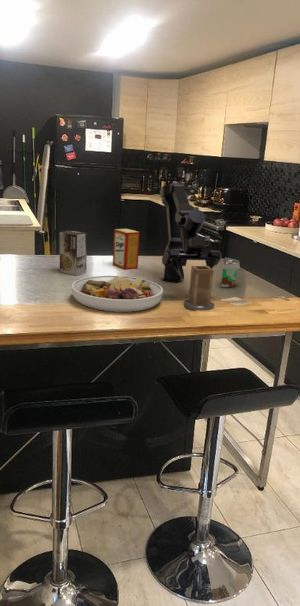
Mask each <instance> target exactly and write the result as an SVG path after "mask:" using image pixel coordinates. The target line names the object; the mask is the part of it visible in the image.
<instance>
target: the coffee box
mask: <svg viewBox="0 0 300 606" xmlns="http://www.w3.org/2000/svg"><path fill="white" fill-rule="evenodd" d="M87 246H88V232H83V231H82V232H81V231H76V230H65V231H59V272H60V273H63V274H68V275H73V276H79V275H84V274H87V257H88V256H87V250H88V247H87Z"/></svg>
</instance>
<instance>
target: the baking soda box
mask: <svg viewBox="0 0 300 606" xmlns="http://www.w3.org/2000/svg"><path fill="white" fill-rule="evenodd" d="M140 235H141V233H140V231H136V230H134V229H129V228H115V229H114V228H113V247H112V248H113V251H112V252H113V253H112V266H114V267H116V268H119V269H122V270H124V271H126V270H127V271H128V270H136V269H137V270H138V267H139V254H140V253H139V251H140V250H139V249H140Z"/></svg>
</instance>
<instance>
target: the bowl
mask: <svg viewBox="0 0 300 606" xmlns="http://www.w3.org/2000/svg"><path fill="white" fill-rule="evenodd" d="M71 293H72V296H73V298H74V299H75V300H76V301H77V302H78V303H80V304H81V305H83V306H85V307H87V306H88V307H87V308H90V307H91V308H90V309H93V308H94V309H93V310H97V309H99V311H102V310H104V311H103V312H110V311H114V312H115V313H131V312H132V311H134V312H140V310H141V311H145V310H148V309H151V308H153V307H155V306H156V305H157V304H158V303H160V301H161V299H162V297H163V295H164V294H163V293H164V289H163V287H162V286H161V285H160V284H159V283H156V282H154V281H152V280H147V279H144V278H141V277H133V276H123V275H96V276H95V275H94V276H88V277H84V278H79V279H77V280H75V281H74V282H72V284H71ZM114 312H113V313H114ZM132 313H133V312H132Z"/></svg>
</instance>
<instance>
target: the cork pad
mask: <svg viewBox="0 0 300 606" xmlns="http://www.w3.org/2000/svg"><path fill="white" fill-rule="evenodd" d="M220 301H221V302H225V303H227V304H231V305H232V306H233V305H234V306H235V307H239V306H244V305H245V306H246V305H250V304H253V302H252V301H250V300H249V301H248V300H246V299H243V298H239V297H237V296H234V297H228V298H222V299H220Z"/></svg>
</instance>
